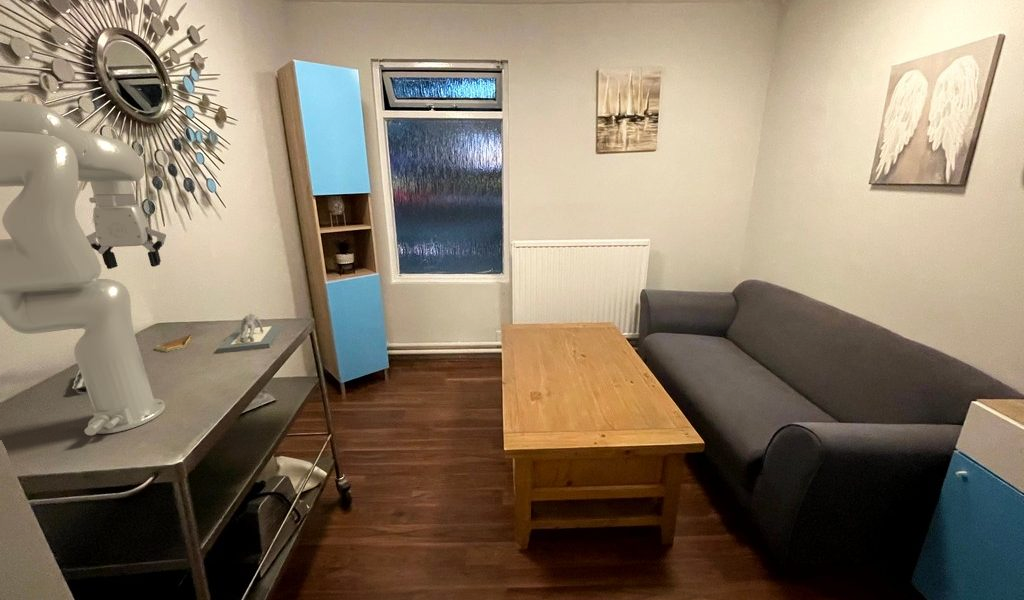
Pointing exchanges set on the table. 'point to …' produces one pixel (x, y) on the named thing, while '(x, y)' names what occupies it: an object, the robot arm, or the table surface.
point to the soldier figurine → (249, 323)
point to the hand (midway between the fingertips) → (134, 266)
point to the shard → (174, 344)
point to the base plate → (259, 339)
